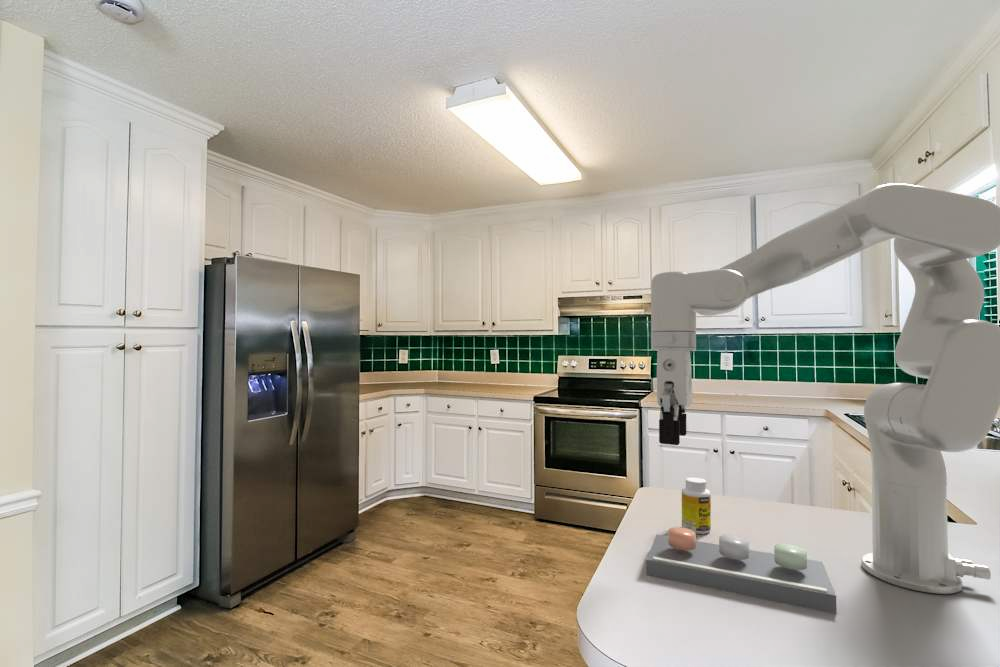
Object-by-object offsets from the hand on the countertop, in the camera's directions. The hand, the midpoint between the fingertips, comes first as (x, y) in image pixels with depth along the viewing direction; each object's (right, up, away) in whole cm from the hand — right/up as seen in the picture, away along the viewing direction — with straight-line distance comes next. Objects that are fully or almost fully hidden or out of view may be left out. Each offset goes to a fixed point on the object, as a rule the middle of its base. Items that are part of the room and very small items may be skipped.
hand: (673, 439), depth 85 cm
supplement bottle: (+10, -22, +14) cm, 28 cm away
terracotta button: (+1, -18, -2) cm, 18 cm away
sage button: (+15, -18, -9) cm, 25 cm away
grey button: (+8, -18, -6) cm, 20 cm away
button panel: (+8, -21, -6) cm, 23 cm away
